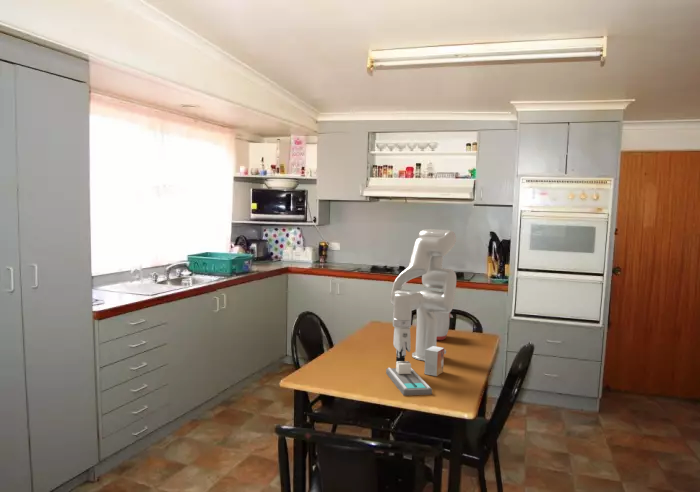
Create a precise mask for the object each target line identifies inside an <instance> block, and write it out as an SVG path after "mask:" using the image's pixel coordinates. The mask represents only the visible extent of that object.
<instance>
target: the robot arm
mask: <svg viewBox="0 0 700 492" xmlns="http://www.w3.org/2000/svg"><path fill="white" fill-rule="evenodd" d="M456 240H457V237H456V234H455V232H454V231H453V230H451V229H450V230H449V229H433V228H432V229H430V228H428V229H426V228H425V229H422V230H420V231H419V233H418V238H416V240H415V241H414V245H413V248H412V251H411V256H410V260H409V264H408V266H407V267H406V268H405V269H404V270H402V271H401V272H400V273H399V274H398V276H397V277H396V278H395V280H394V281H393V284H392V288H391V291H390V292H391V293H390V303H391V304H392V305H393V310H392V311H393V313H392V314H393V315H392V327H394V328H393V341H392V342H393V347H394V349H396V350H395V353H396V354H395V355H396V359H395V360H396V361H406V356H407V352H408V353H410V352H411V348H412V347H411V344H412V343H411V341H412V340H411V328H412V315H413V314H412V313H413V312H412V310H416V331H415V332H416V333H415V351H414V352H412V353H411V356H412V358H414V359H415V360H418V361H424V362H425V350H426V349H428V348H430V347H432V346H436V347H437V341H438V340H437V318H436V316H435V314H434V313H433V312H440V313H450V314H451V312H453V311H452V310H453V308H454V304H455V303H454V302H455V296H456V288H457V274H456V272H455V270H453V269H451V268H443V261H444V258H443V257H445V256H446V255H447V254H448V253H449V252H450V251H451V250H452V249H453V248H454V246H455V244H456ZM419 277H421V283H422V285H423V286H424V287H426V288H432V289H439V290H443V291H438V290H430V289H423V290H419V291H416V290H408V289H403V287H404V286H405V284H406V283H407V282H409V281H410V280H411V281H412V279H415V278H419ZM446 354H447V349H444V355H446ZM396 361H395V362H396Z"/></svg>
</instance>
